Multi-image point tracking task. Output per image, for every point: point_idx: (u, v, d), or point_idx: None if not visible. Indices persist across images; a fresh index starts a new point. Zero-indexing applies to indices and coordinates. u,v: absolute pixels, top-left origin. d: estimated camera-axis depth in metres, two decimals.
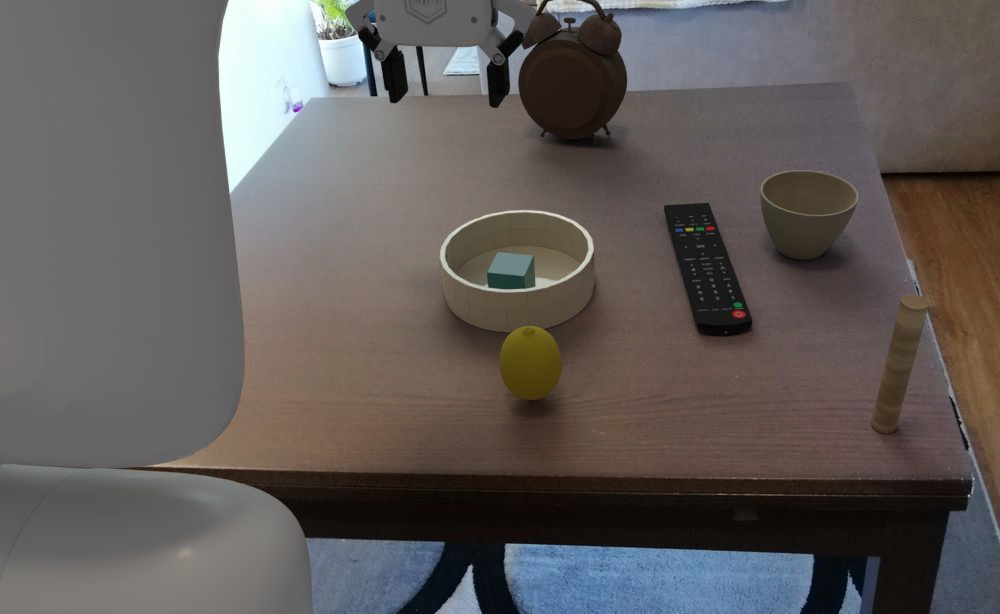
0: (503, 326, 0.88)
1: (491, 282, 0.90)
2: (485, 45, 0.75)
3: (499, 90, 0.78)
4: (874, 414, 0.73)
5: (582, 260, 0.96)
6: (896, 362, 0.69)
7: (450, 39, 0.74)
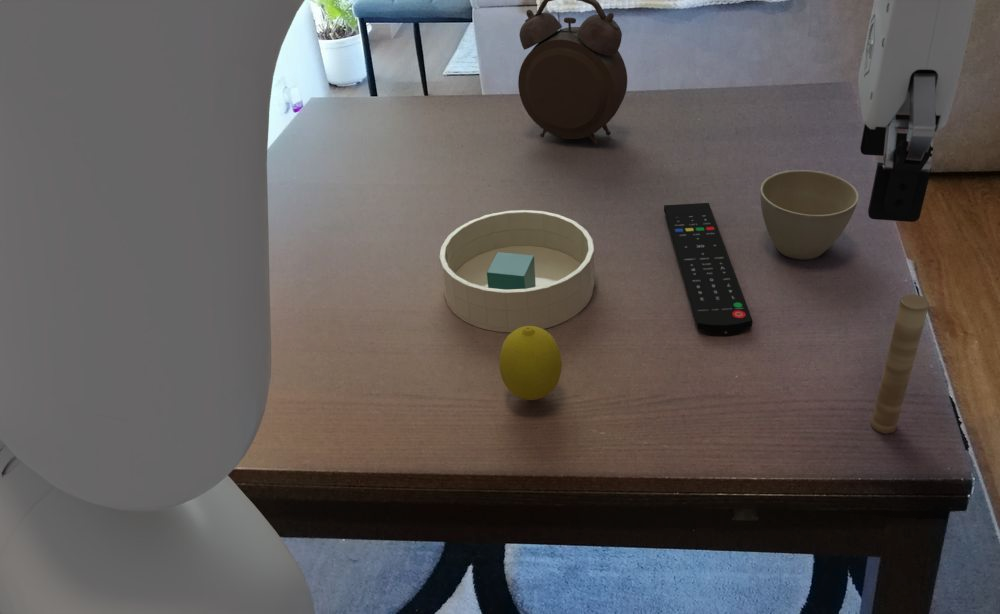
0: (503, 326, 0.88)
1: (491, 282, 0.90)
2: (886, 137, 0.57)
3: (883, 201, 0.58)
4: (874, 414, 0.73)
5: (582, 260, 0.96)
6: (896, 362, 0.69)
7: (862, 106, 0.58)
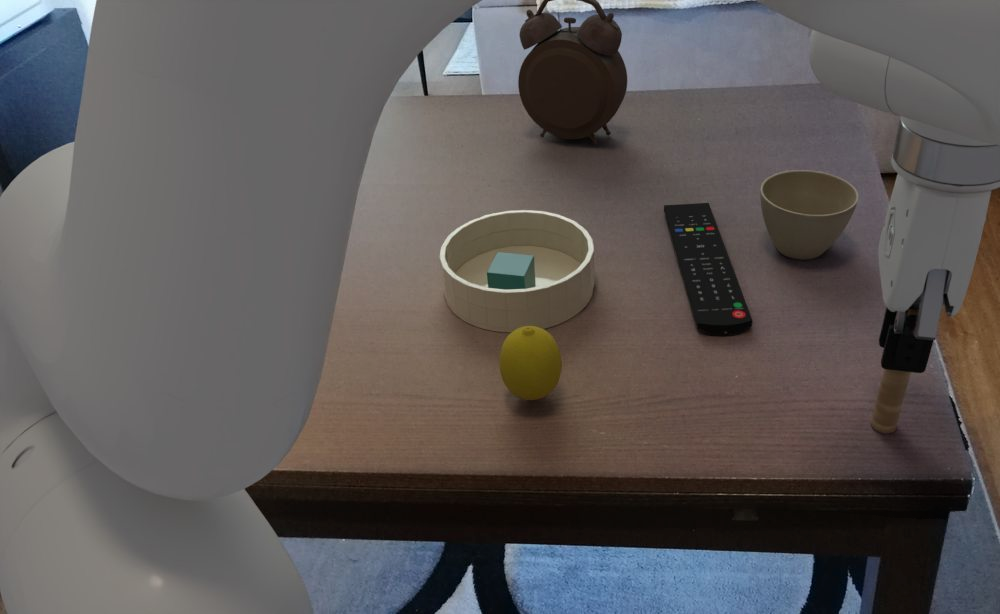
0: (503, 326, 0.88)
1: (491, 282, 0.90)
2: None
3: (894, 356, 0.68)
4: (874, 414, 0.73)
5: (582, 260, 0.96)
6: None
7: (883, 285, 0.65)
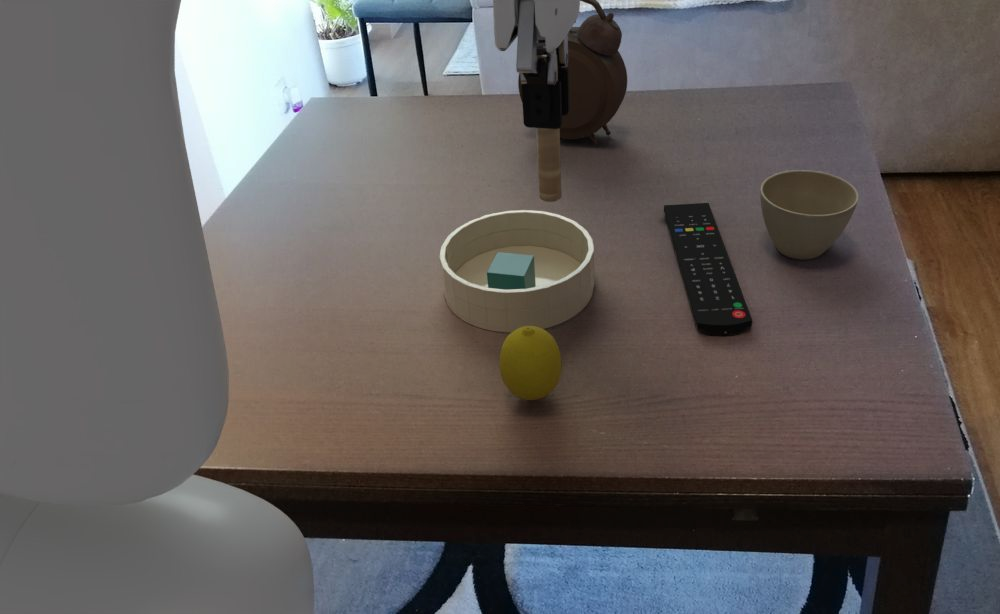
0: (503, 326, 0.88)
1: (491, 282, 0.90)
2: None
3: None
4: None
5: (582, 260, 0.96)
6: None
7: None
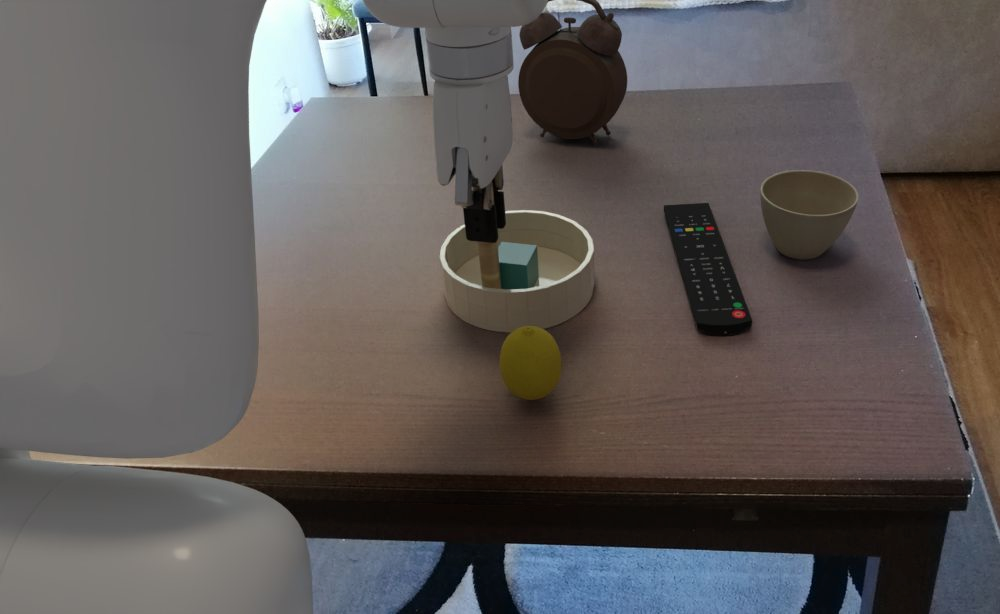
0: (503, 326, 0.88)
1: None
2: None
3: None
4: None
5: (582, 260, 0.96)
6: None
7: None
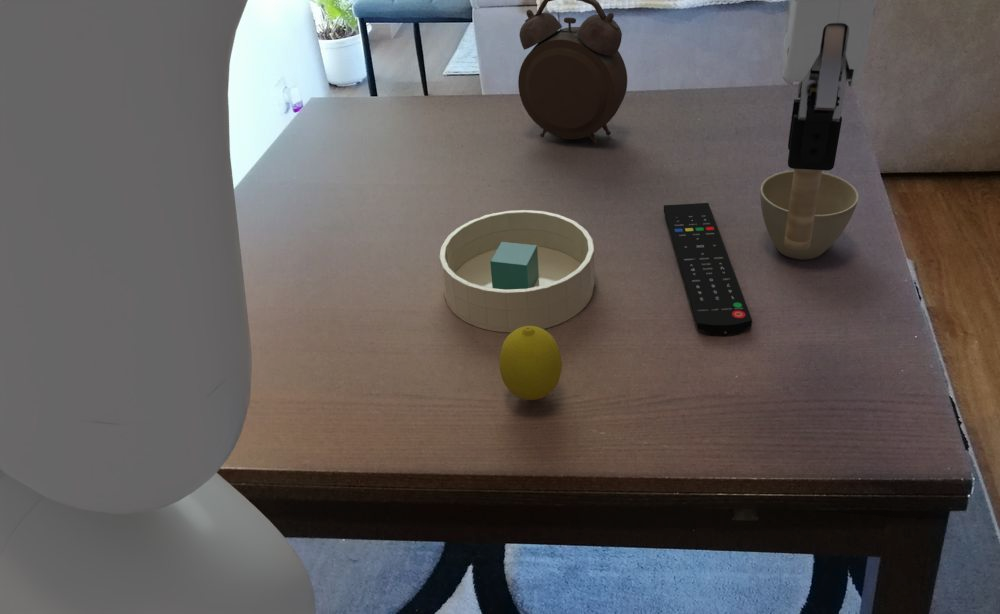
0: (503, 326, 0.88)
1: (494, 271, 0.92)
2: (801, 90, 0.60)
3: (800, 151, 0.63)
4: (786, 230, 0.69)
5: (582, 260, 0.96)
6: None
7: (783, 63, 0.60)
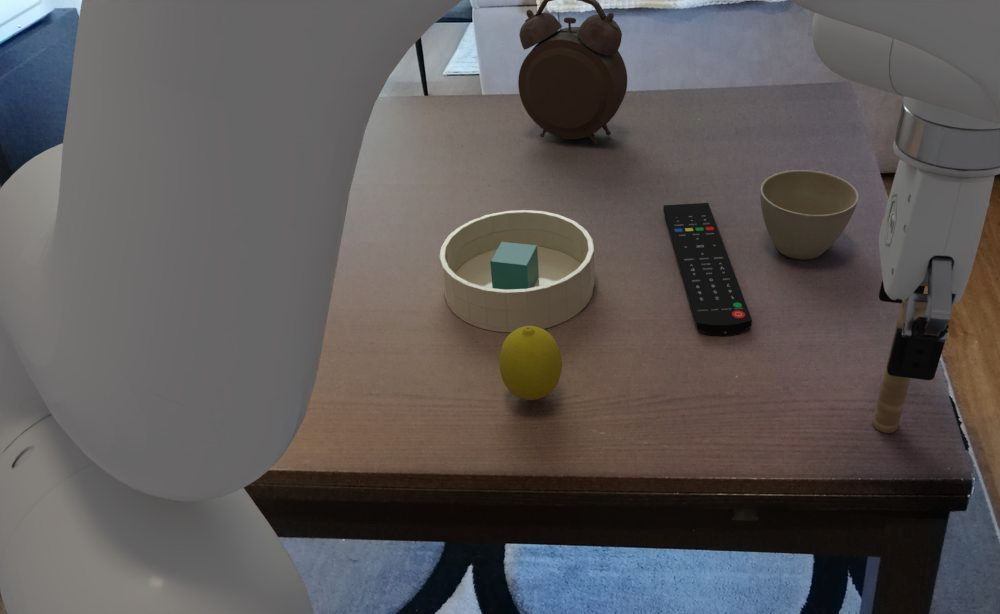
0: (503, 326, 0.88)
1: (494, 271, 0.92)
2: (905, 307, 0.62)
3: (901, 362, 0.64)
4: (876, 414, 0.73)
5: (582, 260, 0.96)
6: None
7: (883, 274, 0.64)
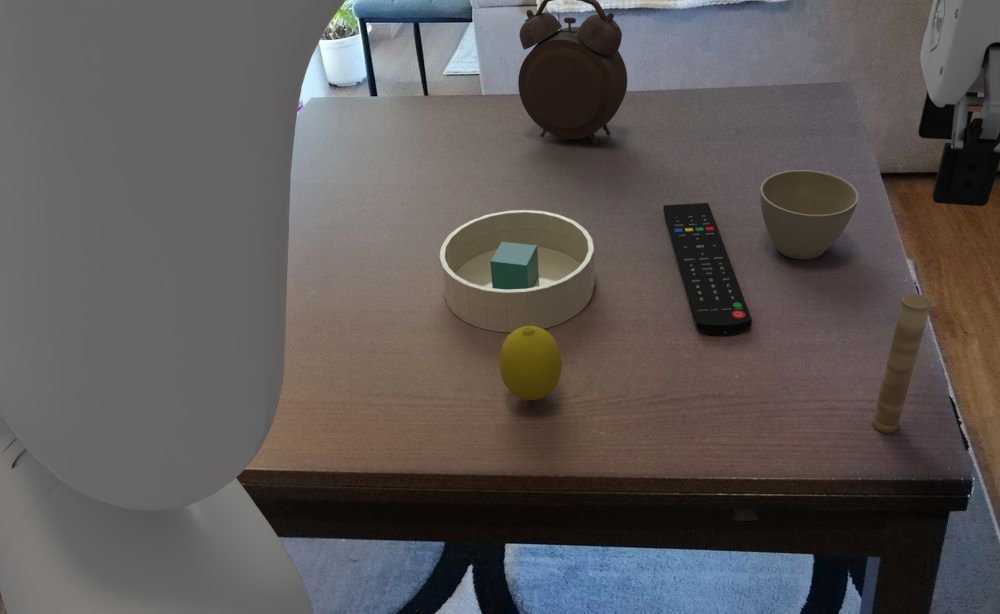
0: (503, 326, 0.88)
1: (494, 271, 0.92)
2: (955, 115, 0.54)
3: (950, 184, 0.55)
4: (876, 414, 0.73)
5: (582, 260, 0.96)
6: (898, 361, 0.69)
7: (929, 83, 0.55)
